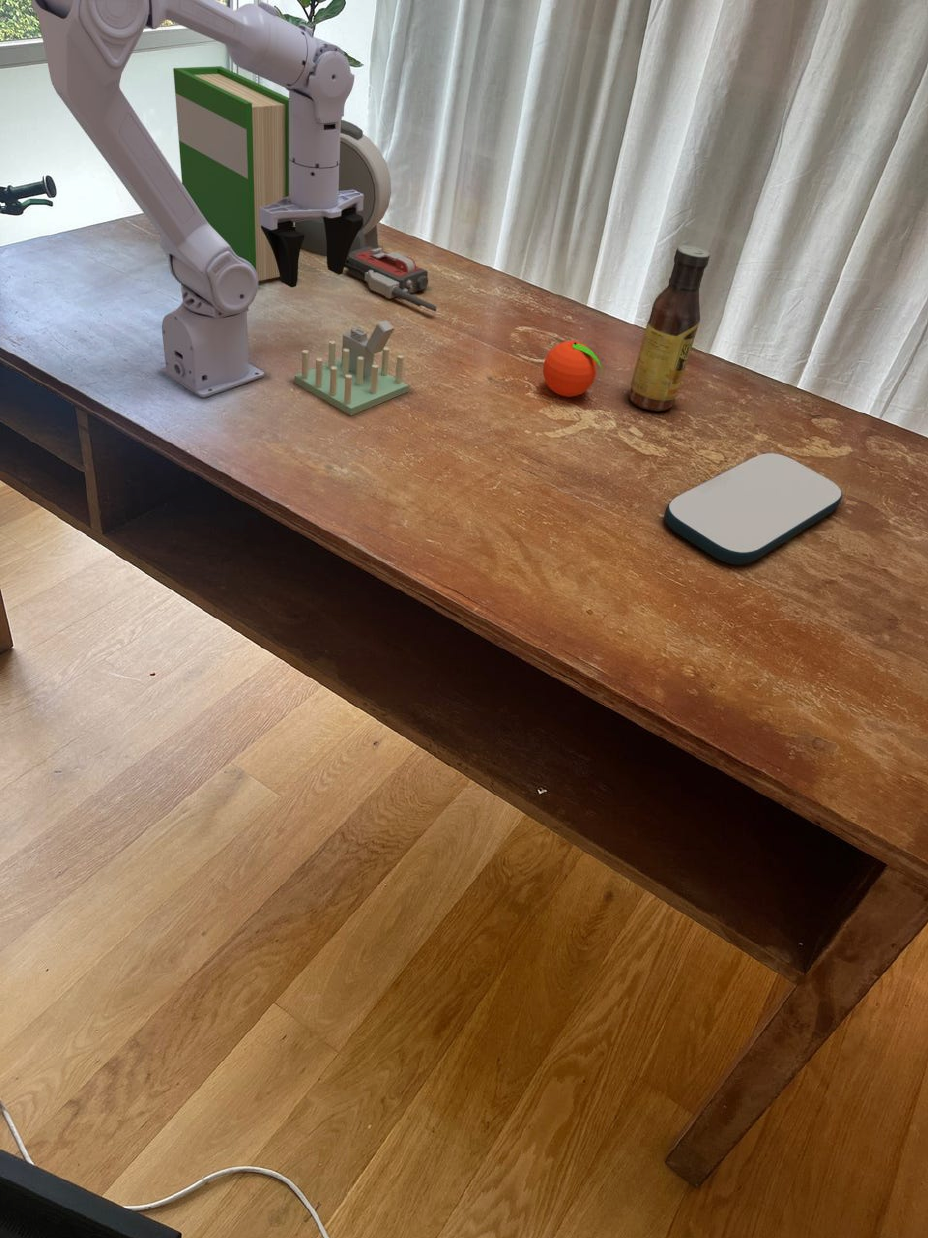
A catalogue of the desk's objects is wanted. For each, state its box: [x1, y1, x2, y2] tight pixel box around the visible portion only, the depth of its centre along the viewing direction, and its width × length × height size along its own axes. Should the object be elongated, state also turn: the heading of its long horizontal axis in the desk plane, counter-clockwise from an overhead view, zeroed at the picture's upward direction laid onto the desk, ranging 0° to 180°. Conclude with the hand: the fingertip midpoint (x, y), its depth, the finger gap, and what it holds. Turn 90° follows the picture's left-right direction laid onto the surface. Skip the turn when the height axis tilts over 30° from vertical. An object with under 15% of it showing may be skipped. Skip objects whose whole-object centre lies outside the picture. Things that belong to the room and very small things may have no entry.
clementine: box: [542, 340, 603, 398], centre depth 115 cm, size 8×7×7 cm
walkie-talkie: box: [344, 246, 437, 312], centre depth 134 cm, size 9×4×20 cm
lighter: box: [341, 319, 395, 378], centre depth 110 cm, size 7×2×8 cm, turn 49°
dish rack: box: [294, 340, 410, 417], centre depth 110 cm, size 10×10×4 cm
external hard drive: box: [663, 452, 843, 565], centre depth 101 cm, size 24×12×2 cm, turn 133°
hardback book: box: [172, 65, 295, 282], centre depth 128 cm, size 18×7×24 cm, turn 43°
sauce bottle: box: [628, 244, 711, 412], centre depth 113 cm, size 6×6×20 cm
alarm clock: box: [294, 119, 392, 260], centre depth 140 cm, size 16×10×18 cm, turn 74°
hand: (312, 277), depth 111 cm, fingers open, 7 cm apart
